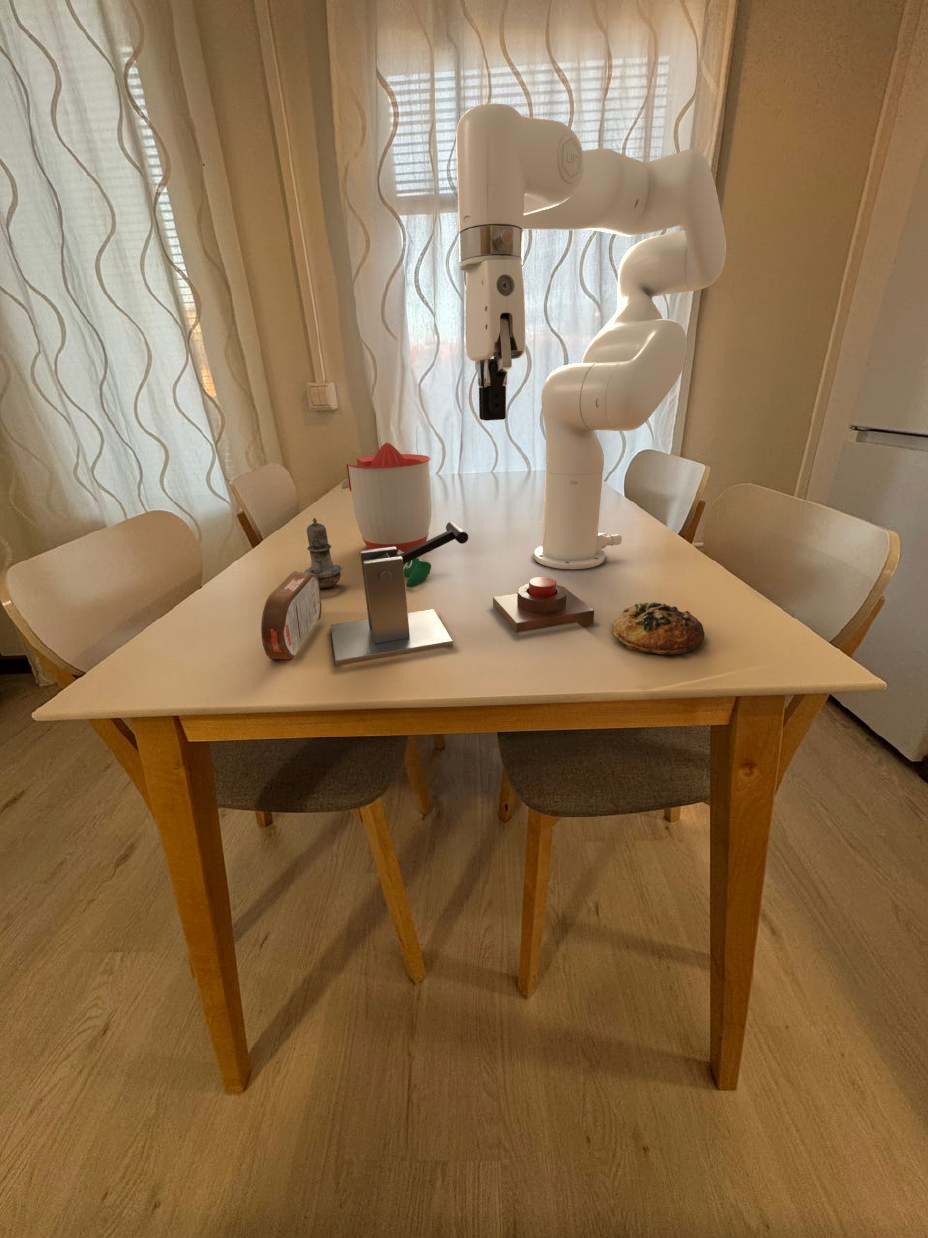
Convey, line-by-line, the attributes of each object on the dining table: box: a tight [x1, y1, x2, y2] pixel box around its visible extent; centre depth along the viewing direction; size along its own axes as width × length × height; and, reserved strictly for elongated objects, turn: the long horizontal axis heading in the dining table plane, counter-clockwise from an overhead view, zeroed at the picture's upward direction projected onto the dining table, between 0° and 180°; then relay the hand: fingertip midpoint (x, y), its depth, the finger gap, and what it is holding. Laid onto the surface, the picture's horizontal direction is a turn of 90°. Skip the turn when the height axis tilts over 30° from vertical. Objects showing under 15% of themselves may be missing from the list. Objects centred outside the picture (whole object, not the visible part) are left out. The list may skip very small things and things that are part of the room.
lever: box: [373, 521, 469, 564], centre depth 60 cm, size 12×5×2 cm, turn 107°
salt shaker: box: [303, 517, 343, 590], centre depth 78 cm, size 6×6×12 cm
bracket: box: [330, 547, 454, 666], centre depth 61 cm, size 14×10×12 cm
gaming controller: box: [397, 550, 432, 588], centre depth 83 cm, size 9×4×6 cm
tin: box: [260, 570, 322, 661], centre depth 63 cm, size 15×3×8 cm, turn 178°
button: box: [528, 576, 557, 597], centre depth 67 cm, size 4×4×2 cm
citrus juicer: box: [341, 442, 433, 554], centre depth 97 cm, size 16×17×20 cm
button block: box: [492, 583, 595, 633], centre depth 68 cm, size 11×9×4 cm
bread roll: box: [612, 601, 706, 656], centre depth 62 cm, size 11×11×5 cm
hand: (492, 419), depth 67 cm, fingers closed
